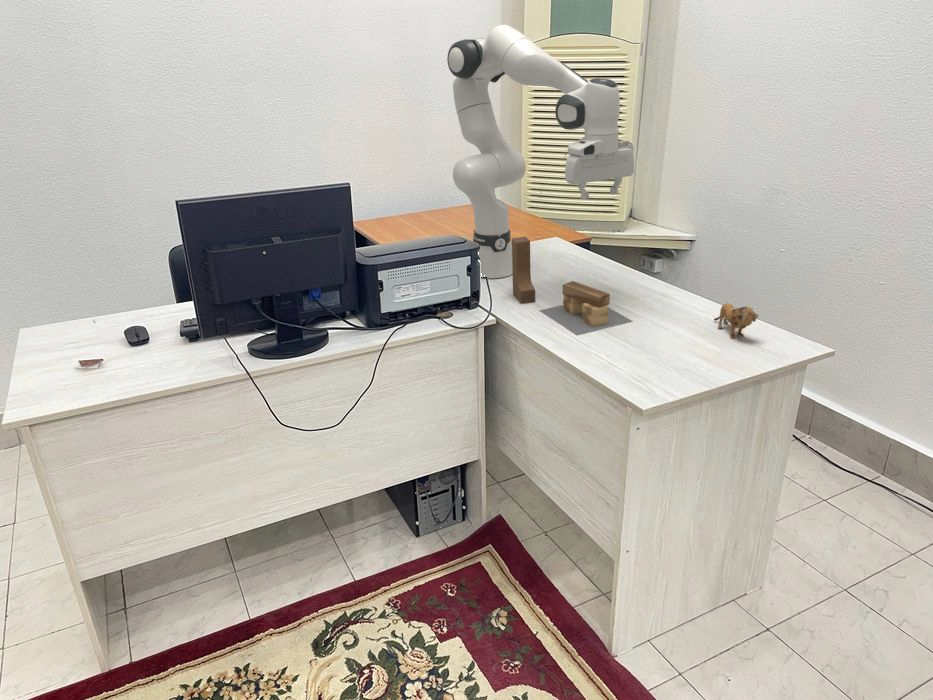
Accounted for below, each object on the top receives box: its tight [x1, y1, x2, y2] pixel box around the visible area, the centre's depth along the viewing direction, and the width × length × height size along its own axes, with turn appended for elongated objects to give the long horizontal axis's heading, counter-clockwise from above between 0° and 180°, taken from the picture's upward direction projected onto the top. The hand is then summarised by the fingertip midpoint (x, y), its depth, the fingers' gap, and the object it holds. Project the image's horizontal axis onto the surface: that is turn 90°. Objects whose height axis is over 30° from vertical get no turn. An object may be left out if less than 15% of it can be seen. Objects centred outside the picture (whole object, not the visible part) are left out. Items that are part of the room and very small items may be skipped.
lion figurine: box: [713, 302, 759, 340], centre depth 175 cm, size 15×5×9 cm, turn 17°
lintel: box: [562, 280, 611, 308], centre depth 187 cm, size 4×14×3 cm, turn 36°
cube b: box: [582, 303, 610, 327], centre depth 185 cm, size 5×5×5 cm
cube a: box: [562, 294, 585, 315], centre depth 193 cm, size 5×5×5 cm
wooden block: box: [511, 236, 536, 305], centre depth 201 cm, size 9×4×18 cm, turn 12°
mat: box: [538, 304, 634, 336], centre depth 190 cm, size 20×18×1 cm
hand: (599, 196), depth 186 cm, fingers open, 8 cm apart
